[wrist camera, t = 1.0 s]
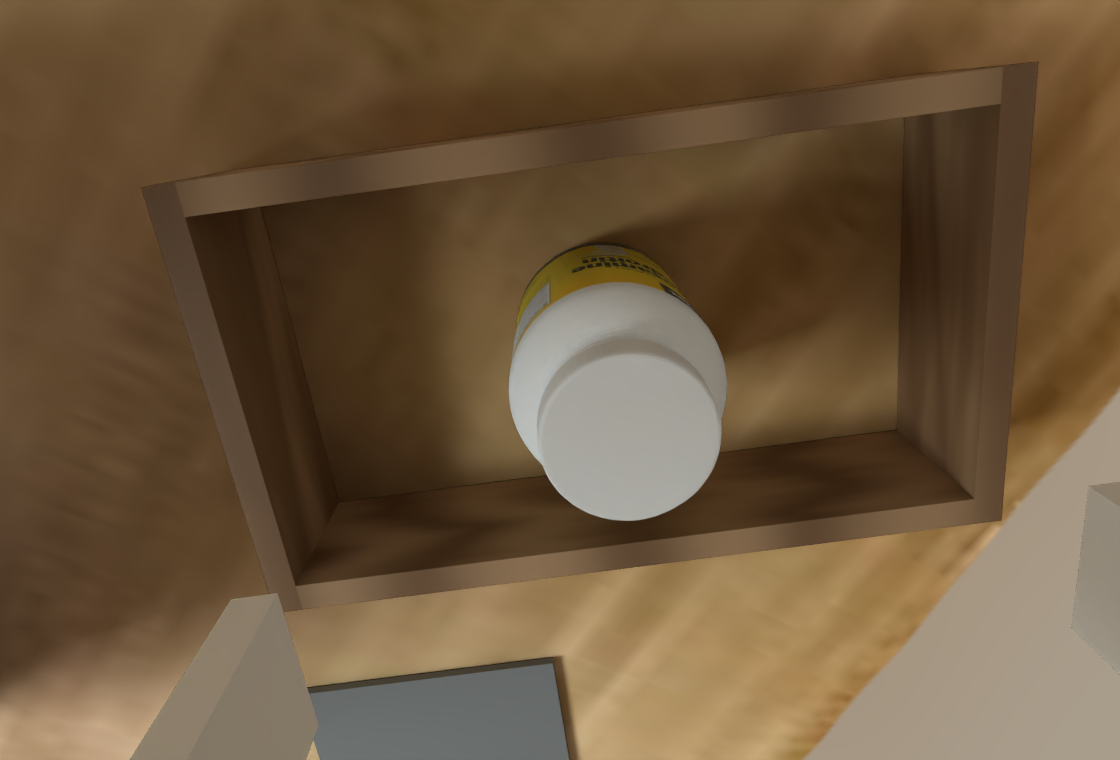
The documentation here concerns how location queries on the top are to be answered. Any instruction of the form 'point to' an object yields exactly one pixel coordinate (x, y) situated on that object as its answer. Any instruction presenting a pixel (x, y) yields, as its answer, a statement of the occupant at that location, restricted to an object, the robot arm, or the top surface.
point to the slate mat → (445, 715)
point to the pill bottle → (616, 383)
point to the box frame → (738, 476)
